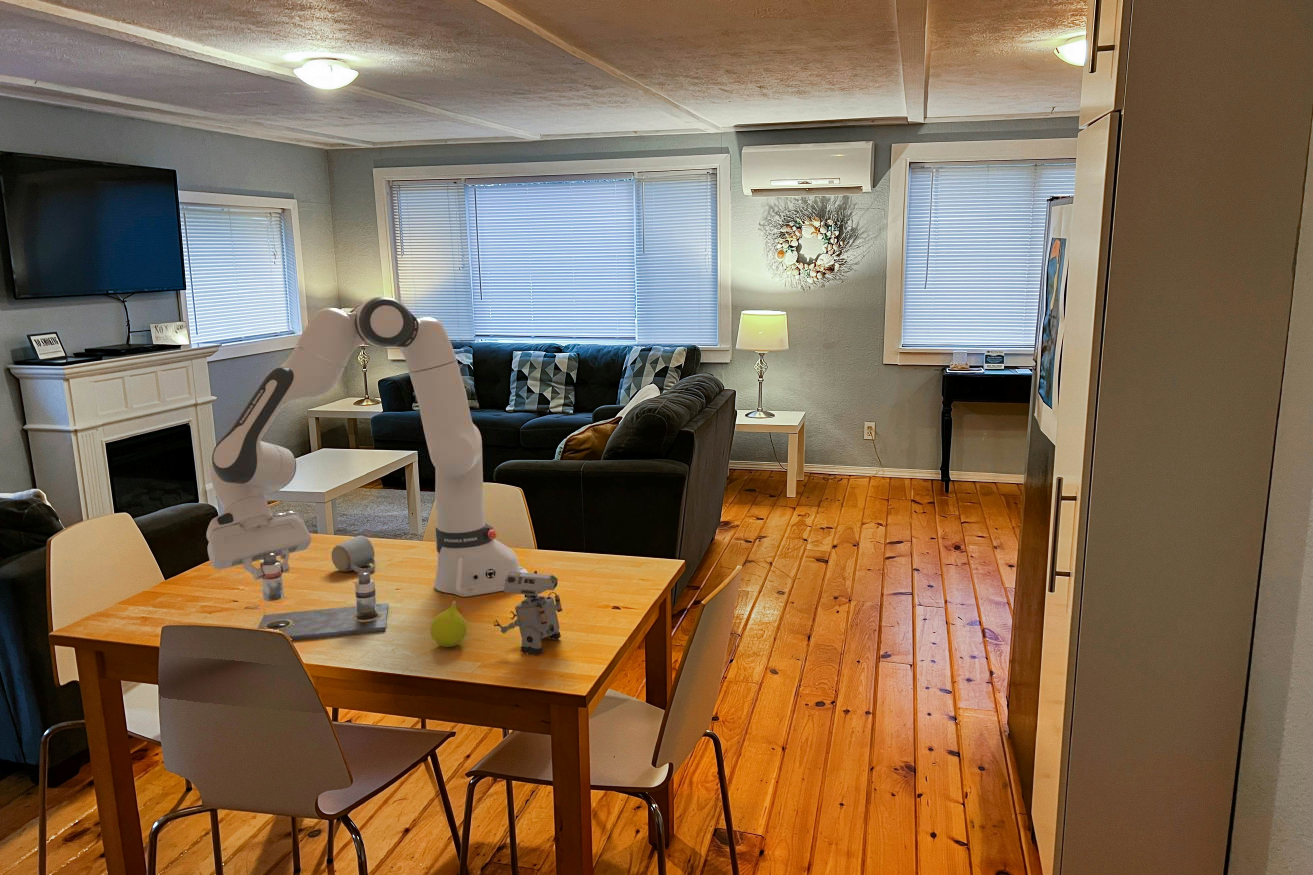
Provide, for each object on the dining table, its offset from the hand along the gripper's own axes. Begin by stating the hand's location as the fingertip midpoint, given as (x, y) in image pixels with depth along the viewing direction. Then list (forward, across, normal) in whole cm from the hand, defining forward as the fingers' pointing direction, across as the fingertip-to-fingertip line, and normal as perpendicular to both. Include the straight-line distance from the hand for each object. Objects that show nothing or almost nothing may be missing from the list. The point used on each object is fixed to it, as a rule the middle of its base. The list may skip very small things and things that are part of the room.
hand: (272, 574), depth 193 cm
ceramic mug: (-8, -30, -27) cm, 41 cm away
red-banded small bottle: (+3, 0, -4) cm, 5 cm away
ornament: (+32, -21, +15) cm, 41 cm away
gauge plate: (+12, -8, -6) cm, 15 cm away
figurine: (+40, -33, +23) cm, 57 cm away
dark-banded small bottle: (+14, -16, -1) cm, 21 cm away
